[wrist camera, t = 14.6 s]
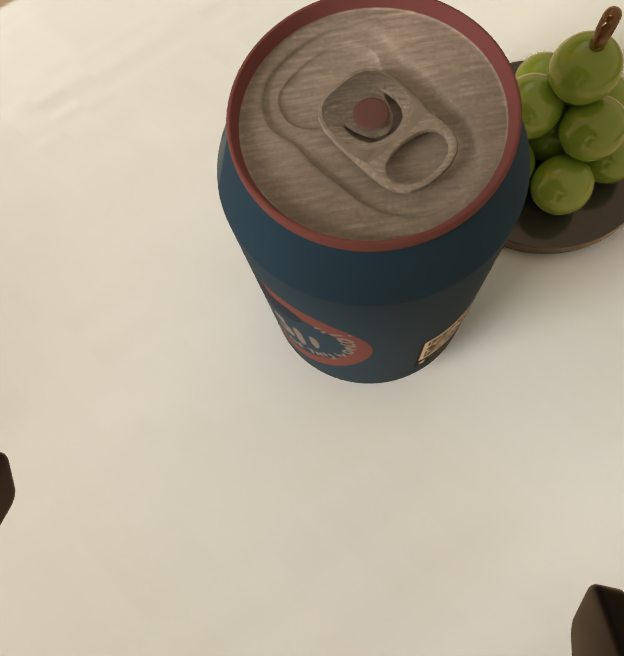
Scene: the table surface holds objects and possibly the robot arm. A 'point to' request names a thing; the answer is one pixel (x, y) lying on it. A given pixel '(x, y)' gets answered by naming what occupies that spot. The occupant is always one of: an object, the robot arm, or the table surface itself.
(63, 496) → the table surface
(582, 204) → the grapes
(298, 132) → the soda can
